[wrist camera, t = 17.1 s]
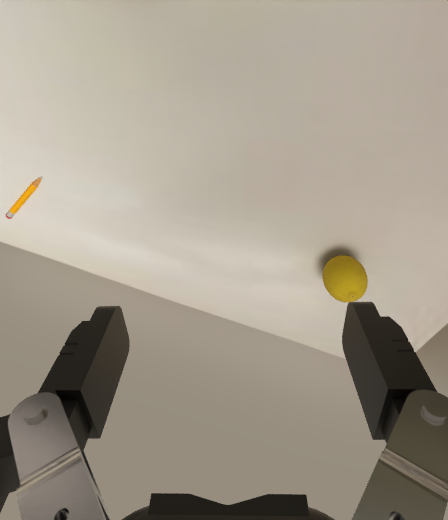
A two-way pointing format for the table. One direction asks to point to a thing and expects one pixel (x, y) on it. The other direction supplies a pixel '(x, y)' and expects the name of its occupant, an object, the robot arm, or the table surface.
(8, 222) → the table surface
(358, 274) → the lemon
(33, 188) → the pencil
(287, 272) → the table surface
